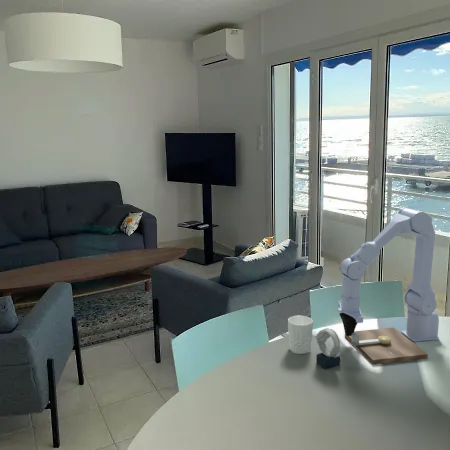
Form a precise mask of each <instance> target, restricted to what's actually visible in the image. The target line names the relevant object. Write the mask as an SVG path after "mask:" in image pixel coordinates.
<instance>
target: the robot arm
mask: <svg viewBox="0 0 450 450" xmlns="http://www.w3.org/2000/svg"><path fill="white" fill-rule="evenodd" d="M433 225H434V224H433V218H432V217H431V216H430V215H429V214H428V213H426V212H424V211H420V210H416V209H413V208H410V207H402V208H400V209H399V210H398V212H396V213H395V214H394V215H393V216H392V218H391V221H390V222H389V223H388V224H387V225H385V227H384V228H383V229H382V230H381V231H380V233H378V235H376V237H375V238H374V239H373V240H372V241H366V242H365V243H362V244H361V245H360V248H358V249H357V250H356V252H354V253H353V254H351V255H350V257H347V258H345V259H343V260H342V261H341V264H340V265H339V267H338V269H339V271H340V273H341V275H342V278H341V299H340V300H338V301H337V302H338V303H337V307H338V308H337V311H338V313H339V317H340V319H341V321H342V325H343V330H344V335H345V334H346V336H352V333H354V331H356V327H357V325H358V324H363V323H364V316H363V314H362V312H361V308H360V306H361V305H360V304H361V303H360V302H361V285H362V283H361V282H362V280H361V279H362V277H364V275H365V274H366V270H367V268H368V266H370V265H371V264H372V263H373V262H374V261H375V260H376V259H377V258H378V257H379V256H380V254H381V249H383V248H384V247H385V246H387V244H388V243H389V242H391V241H392V240H394V239H395V238H396V237H397V236H398V235H400V234H405V233H406V234H408V233H410V234H411V233H412V234H413V235H414V236H415V237H416V239H415V246H414V248H415V249H414V259H413V270H412V272H413V273H412V281H411V283H409V284H408V285H407V288H406V289H407V290H406V292H405V293H404V297H403V299H404V302H405V304H406V305H407V306H406V307H407V316H406V317H407V318H406V329H404V330H400V333H401V334H403V335H404V336H405V337H407V338H408V339H409V340H410V341H412V342H413V343H415V342H423V341H433V340H440V337H439V323H440V320H439V319H440V318H439V316H438V313H437V311H436V309H437V300H436V292H435V290H434V289H433V287H432V286H431V282H432V281H431V279H432V270H433V259H434V248H435V239H436V238H435V237H436V230H435V228H434V226H433Z"/></svg>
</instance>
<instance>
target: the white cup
mask: <svg viewBox="0 0 450 450" xmlns="http://www.w3.org/2000/svg"><path fill="white" fill-rule="evenodd" d="M313 327H314V320H313V319H312V318H311V317H308V316H305V315H293V316H292V315H291V316H290V317H288V319H287V332H288V333H287V334H288V344H289V346H288V347H289V351H291V352H292V353H293V354H298V355H303V354H308V353H309V352H310V351H311V349H312V347H311V346H312V337H313Z"/></svg>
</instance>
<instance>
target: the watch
mask: <svg viewBox="0 0 450 450" xmlns="http://www.w3.org/2000/svg"><path fill="white" fill-rule="evenodd" d="M330 337H331V339H332V342H333V347H332V349H328V348H327V346H326V342H327V341H328V339H329V338H330ZM315 339H316V343H317V345H318V348H319V350H320V352H318V353H316V356H315V357H316V362H315V363H316V364H317V365H318V366H319V367H321V368H322V369H324V370H330V369H332V368H336V367H339V366H341V355H340V354H338V353H339V352H340V349H341V342H340V338H339V336H338V334H337V332H336V331H335V330H334V329H332V328H323V329H322V330H320V331H319V332H317V333H316V336H315Z"/></svg>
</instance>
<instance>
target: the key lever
mask: <svg viewBox="0 0 450 450" xmlns="http://www.w3.org/2000/svg"><path fill="white" fill-rule="evenodd" d="M350 343H351V344H350V345H351V346H353V347H355V346H359V345H366V344H376V343H381V344H390V343H391V338H389V337H387V336H379V337H378V339H371V340H361V341H359V334H357V333H352V339H351V342H350Z"/></svg>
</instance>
